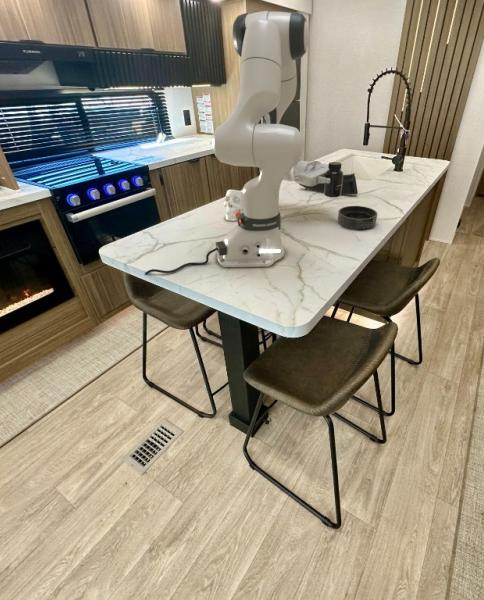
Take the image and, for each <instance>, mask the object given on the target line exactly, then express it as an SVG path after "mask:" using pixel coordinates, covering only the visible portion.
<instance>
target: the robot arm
mask: <svg viewBox="0 0 484 600" xmlns="http://www.w3.org/2000/svg"><path fill="white" fill-rule="evenodd" d="M232 42H233V46H234V50H235V52H236V53H237V55H238V56H239V57H240V72H239V86H238V94H237V99H236V102H235V105H234V107H233V109H232V110H231V113H230V114H229V115H228V117H227V118H226V120H224V121H223V122H222V123H221V124H220V125H218V126H217V127H216V128H215V130H214V132H213V135H212V138H211V147H212V151H213V154H214V156H215V158H216V159H217V160H218V161H219V162H220V163H222V164H225V165H230V166H234V167H249V168H250V167H251V168H259V175H258V176H256V177H254V178H252V179H250V180H248V181H247V182H246V183H244V185H243V187H242V189H241V192H242V200H243V211H244V212H243V213H242V214H241V213H240V212H239V211H238V212H236V213H235V216H236V218H237V219H238V220H237V225H236V226H235V227H234V228H233V229H231V230H230V231H228V233H226V235H225V236H224V239H223V240H220V241H216V242H215V248H213V249H210V250H209V251H208V253H206V254H205V255H206V256H205V261H203V262H187V263H184V264H182V265H180V266H178V267H177V268H174V269H171V270H162V269H157V268H156V269H155V268H151V269H149V270H147V271H146V272H145V273H144V276H147V275H149V274H150V273H152V272H153V273H154V272H155V273H162V274H172V273H175V272H176V273H177V272H178V271H179V270H182V269H184V268H185V267H188V266H202V265H206V264H208V263H209V260H210V259H209V258H210V255H211V254H212V253H214V252H217V253H216V256H217V261H218V263H219V265H220V266H222V267H224V268H259V267H260V268H262V267H263V268H266V267H267V268H268V267H271V266H272V265H274V263H275V262H277V261H279V260H281V259H282V258H283V257H284V255H285V253H286V252H285V250H284V246H283V242H282V237H281V227H282V218H281V217H282V216H281V212H280V205H279V204H280V202H279V201H280V189H281V185H282V182H283V181H287V182H295V184H296V183H297V184H298V185H299V184H302V185H305V186H314V185H317V184H319V183H328V184H329V183H331V180H332V179H331V178H328V177H327V178H325V173H326V171H327V170H329V168H328V166H329V163H322V162H321V161H320V160H314V161H313V160H312V161H310V160H302V157H303V154H304V150H305V143H304V138H303V135H302V134H301V132H300V130H299V129H298V128H297V127H295V126H290V125H287V124H286V125H285V124H283V123H280V122H281V120H282V117H283V115H284V114H285V112H286V111H287V110H288V108H289V107H290V105H291V103H292V102H293V101H294V99H295V97H296V95H297V94H296V93H297V88H298V77H297V63H296V60H298V59H301V58H303V56H304V55H305V54H306V53H307V50H308V46H309V42H310V28H309V25H308V21H307V18H306V17H305V15H304V14H303V13H300V12H297V11H291V12H285V11H270V10H264V11H256V12H251V13H248V12H245V13H244V12H243V13H242V14H239V15H238V16H237V17H236V18H235V20H234V21H233V22H232Z"/></svg>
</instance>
